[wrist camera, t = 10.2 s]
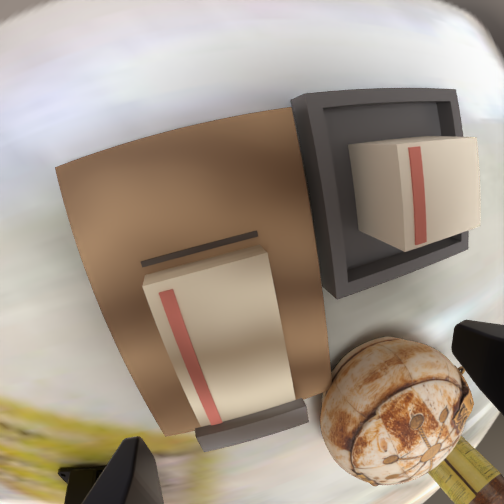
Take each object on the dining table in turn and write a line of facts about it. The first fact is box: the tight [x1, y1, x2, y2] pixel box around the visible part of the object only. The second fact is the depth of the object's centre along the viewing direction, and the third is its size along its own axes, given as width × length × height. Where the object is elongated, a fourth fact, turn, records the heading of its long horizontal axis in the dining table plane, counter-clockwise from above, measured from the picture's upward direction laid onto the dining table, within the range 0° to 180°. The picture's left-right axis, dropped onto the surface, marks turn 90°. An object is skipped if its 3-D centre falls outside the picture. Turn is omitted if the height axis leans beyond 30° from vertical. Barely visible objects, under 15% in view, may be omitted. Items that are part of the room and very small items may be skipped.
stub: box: [348, 136, 481, 252], centre depth 16 cm, size 5×6×5 cm
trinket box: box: [320, 337, 474, 486], centre depth 21 cm, size 13×15×8 cm
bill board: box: [55, 107, 332, 452], centre depth 16 cm, size 18×12×4 cm, turn 12°
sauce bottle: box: [428, 436, 504, 504], centre depth 22 cm, size 7×6×20 cm
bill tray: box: [291, 88, 469, 299], centre depth 18 cm, size 11×11×2 cm
